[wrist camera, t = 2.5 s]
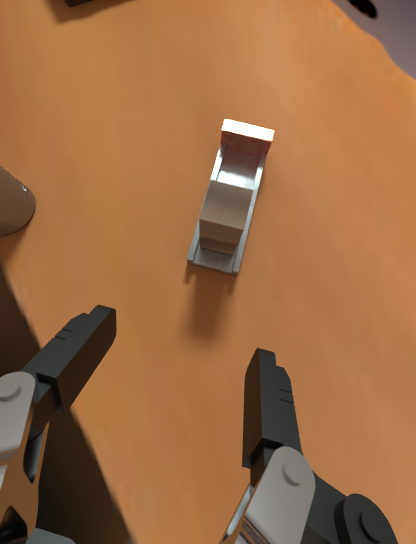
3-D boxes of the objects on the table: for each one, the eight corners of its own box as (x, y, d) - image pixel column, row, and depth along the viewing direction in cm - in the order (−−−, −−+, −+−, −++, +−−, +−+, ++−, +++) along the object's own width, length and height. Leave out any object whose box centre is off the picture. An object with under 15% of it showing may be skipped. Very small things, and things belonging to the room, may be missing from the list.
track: (236, 276, 35) (242, 267, 30) (187, 263, 35) (184, 252, 30) (265, 154, 40) (274, 130, 35) (222, 144, 40) (225, 118, 35)
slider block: (233, 255, 34) (244, 230, 25) (199, 246, 34) (199, 218, 25) (240, 224, 35) (253, 190, 26) (208, 216, 35) (210, 179, 26)
